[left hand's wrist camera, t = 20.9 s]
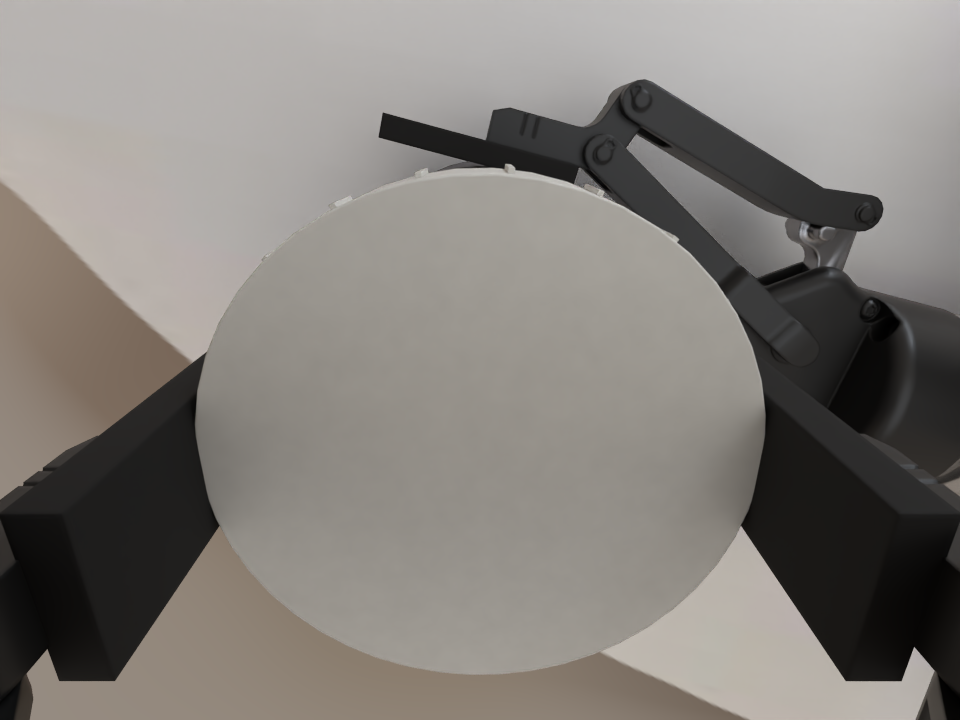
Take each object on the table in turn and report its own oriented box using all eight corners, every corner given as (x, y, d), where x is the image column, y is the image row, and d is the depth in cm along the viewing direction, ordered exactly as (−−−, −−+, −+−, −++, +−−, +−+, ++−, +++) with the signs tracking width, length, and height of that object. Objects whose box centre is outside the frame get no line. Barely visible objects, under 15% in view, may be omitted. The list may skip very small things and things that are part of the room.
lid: (611, 49, 9) (640, 29, 8) (789, 512, 13) (836, 568, 11) (127, 320, 11) (63, 352, 9) (394, 666, 14) (383, 736, 13)
